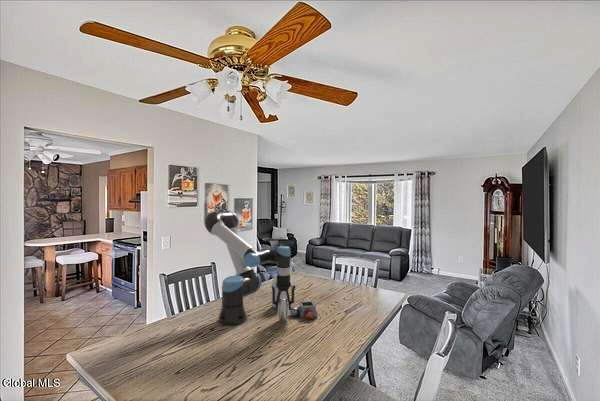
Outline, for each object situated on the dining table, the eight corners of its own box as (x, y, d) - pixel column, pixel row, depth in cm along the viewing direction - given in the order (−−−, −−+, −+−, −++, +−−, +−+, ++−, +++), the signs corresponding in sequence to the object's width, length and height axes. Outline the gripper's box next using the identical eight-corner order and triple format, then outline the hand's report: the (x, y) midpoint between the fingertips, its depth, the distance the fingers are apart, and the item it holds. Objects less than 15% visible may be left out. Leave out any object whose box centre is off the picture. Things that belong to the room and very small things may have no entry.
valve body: (292, 321, 160) (292, 309, 160) (289, 312, 172) (289, 302, 172) (318, 319, 162) (318, 308, 162) (314, 311, 174) (314, 300, 174)
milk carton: (279, 309, 177) (280, 278, 177) (271, 306, 181) (271, 276, 181) (287, 305, 183) (287, 276, 183) (278, 303, 187) (279, 274, 187)
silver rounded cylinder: (279, 322, 158) (279, 300, 158) (278, 319, 162) (278, 298, 162) (287, 322, 159) (287, 300, 159) (286, 318, 163) (286, 297, 163)
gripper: (268, 276, 155) (267, 319, 155) (300, 275, 158) (299, 317, 158) (267, 273, 163) (266, 314, 163) (298, 272, 166) (297, 312, 166)
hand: (283, 315), depth 160 cm, fingers closed on silver rounded cylinder, 5 cm apart
